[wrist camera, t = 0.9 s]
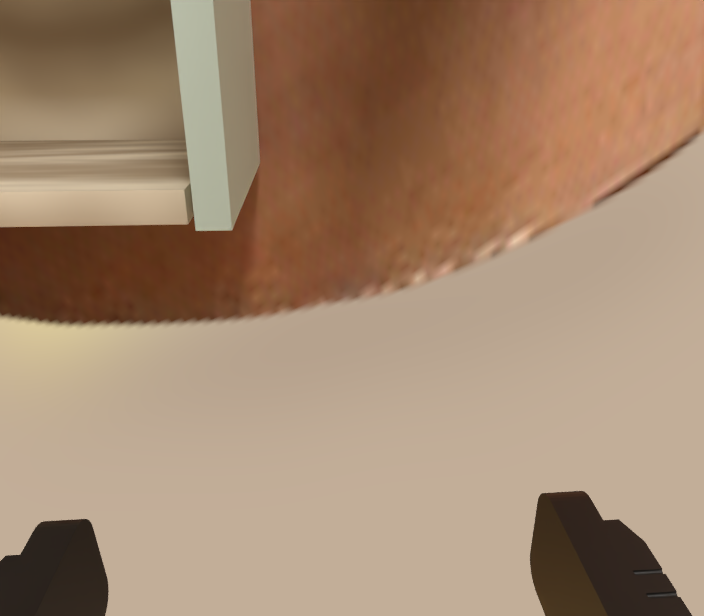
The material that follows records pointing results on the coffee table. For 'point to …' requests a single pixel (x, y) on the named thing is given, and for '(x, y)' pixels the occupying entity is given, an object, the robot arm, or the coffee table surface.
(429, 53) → the coffee table surface
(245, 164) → the flat panel
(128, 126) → the box
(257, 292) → the coffee table surface
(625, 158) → the coffee table surface
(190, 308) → the coffee table surface
